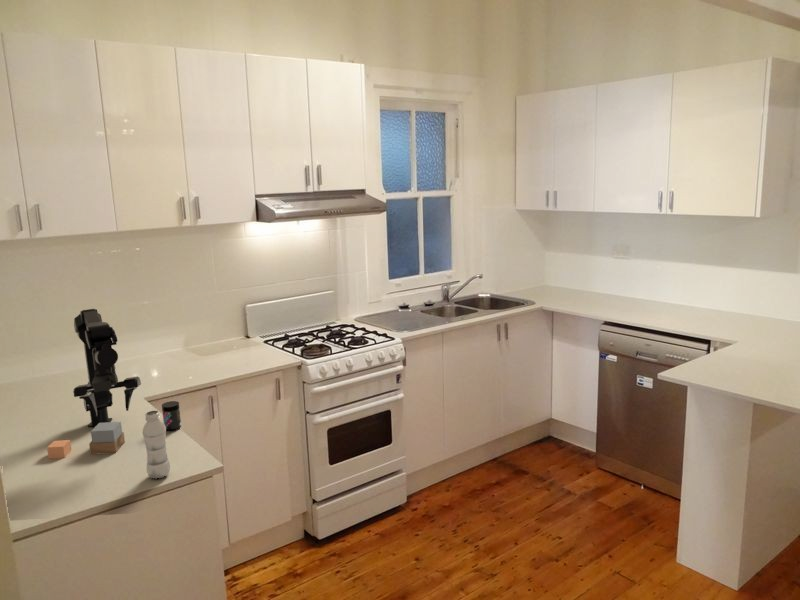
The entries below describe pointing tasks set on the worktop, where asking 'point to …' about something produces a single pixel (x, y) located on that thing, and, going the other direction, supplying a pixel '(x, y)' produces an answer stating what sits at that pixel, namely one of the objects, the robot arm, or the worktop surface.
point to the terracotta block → (59, 449)
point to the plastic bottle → (155, 446)
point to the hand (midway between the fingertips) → (112, 413)
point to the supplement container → (171, 415)
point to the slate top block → (106, 432)
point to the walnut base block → (107, 446)
